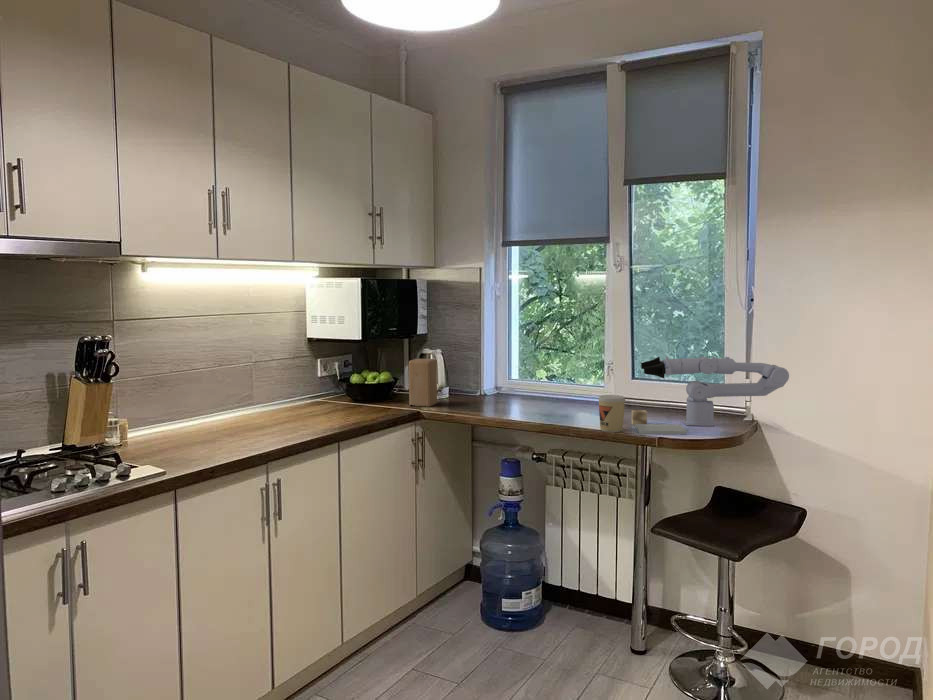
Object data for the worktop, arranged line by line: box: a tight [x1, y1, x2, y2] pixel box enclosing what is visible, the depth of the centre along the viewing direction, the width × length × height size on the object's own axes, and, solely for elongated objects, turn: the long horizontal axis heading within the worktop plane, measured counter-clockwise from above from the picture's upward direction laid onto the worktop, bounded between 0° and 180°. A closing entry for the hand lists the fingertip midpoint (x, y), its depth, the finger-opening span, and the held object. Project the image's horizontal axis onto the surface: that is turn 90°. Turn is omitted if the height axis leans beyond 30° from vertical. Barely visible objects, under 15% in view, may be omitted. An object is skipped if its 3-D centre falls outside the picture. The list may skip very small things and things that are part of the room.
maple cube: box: [630, 409, 648, 426], centre depth 267 cm, size 5×5×5 cm
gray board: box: [634, 423, 688, 435], centre depth 254 cm, size 16×12×1 cm
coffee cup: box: [597, 394, 626, 433], centre depth 256 cm, size 9×9×12 cm
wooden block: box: [408, 358, 438, 408], centre depth 313 cm, size 10×10×20 cm
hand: (642, 368), depth 267 cm, fingers open, 7 cm apart
